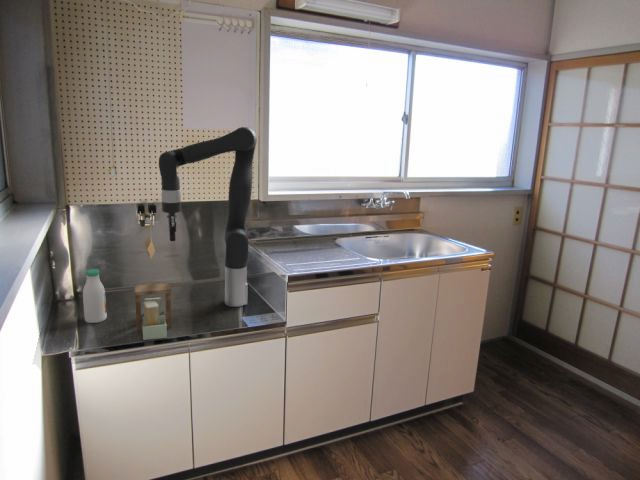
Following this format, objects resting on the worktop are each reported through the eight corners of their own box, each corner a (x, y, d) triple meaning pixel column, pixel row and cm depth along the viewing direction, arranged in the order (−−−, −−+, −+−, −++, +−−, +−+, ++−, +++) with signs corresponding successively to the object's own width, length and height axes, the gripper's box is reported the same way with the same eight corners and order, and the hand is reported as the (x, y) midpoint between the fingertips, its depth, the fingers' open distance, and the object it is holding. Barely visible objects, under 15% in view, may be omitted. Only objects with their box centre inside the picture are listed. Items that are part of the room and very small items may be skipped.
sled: (164, 314, 185) (163, 297, 183) (167, 337, 167) (166, 319, 165) (142, 316, 182) (141, 298, 181) (143, 340, 164) (142, 321, 162)
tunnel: (170, 320, 181) (169, 283, 177) (171, 328, 175) (170, 289, 171) (136, 323, 176) (135, 285, 172) (136, 331, 170) (134, 292, 166)
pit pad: (163, 312, 188) (163, 311, 187) (164, 318, 183) (164, 317, 182) (142, 314, 185) (142, 313, 185) (142, 320, 180) (142, 319, 180)
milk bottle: (103, 323, 175) (100, 274, 170) (81, 323, 174) (77, 273, 168) (109, 315, 182) (106, 267, 177) (88, 315, 181) (84, 267, 176)
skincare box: (144, 331, 171) (142, 301, 167) (156, 329, 173) (155, 299, 170) (147, 339, 165) (146, 307, 162) (160, 336, 168) (159, 305, 164)
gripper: (182, 203, 185) (183, 244, 189) (179, 197, 197) (180, 236, 201) (162, 203, 182) (164, 245, 187) (160, 197, 194) (162, 237, 198)
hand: (172, 240), depth 194 cm, fingers closed
